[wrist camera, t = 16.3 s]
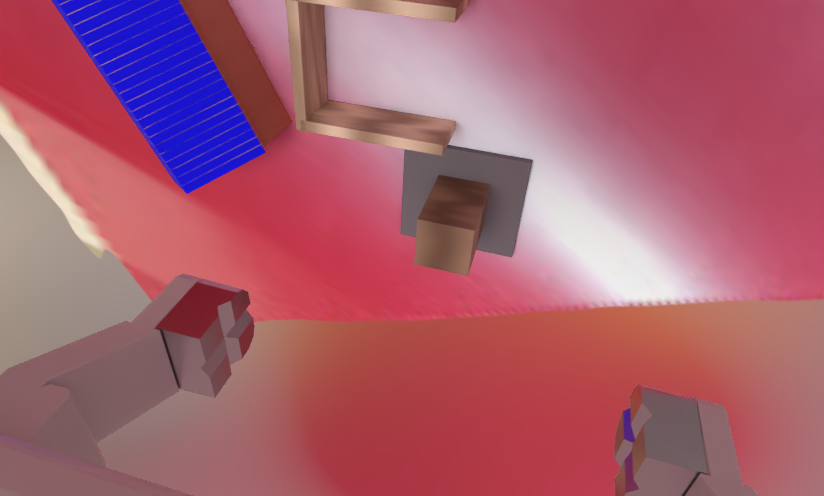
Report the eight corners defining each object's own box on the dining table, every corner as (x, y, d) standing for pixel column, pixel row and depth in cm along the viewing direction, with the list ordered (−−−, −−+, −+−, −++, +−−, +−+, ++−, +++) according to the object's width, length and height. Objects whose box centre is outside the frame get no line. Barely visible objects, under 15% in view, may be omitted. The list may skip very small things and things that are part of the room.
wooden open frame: (469, -8, 44) (456, 8, 40) (454, 131, 51) (442, 155, 47) (311, -27, 46) (284, -15, 43) (318, 108, 54) (296, 129, 50)
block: (489, 184, 53) (474, 230, 47) (483, 226, 56) (467, 275, 50) (439, 174, 54) (417, 219, 48) (435, 217, 57) (414, 264, 51)
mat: (532, 160, 51) (531, 163, 50) (512, 253, 58) (512, 257, 57) (406, 137, 53) (405, 140, 53) (402, 230, 60) (400, 233, 59)
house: (183, -94, 46) (81, -75, 37) (296, 122, 56) (237, 179, 47) (92, -38, 52) (-17, -10, 43) (210, 151, 61) (141, 207, 52)
